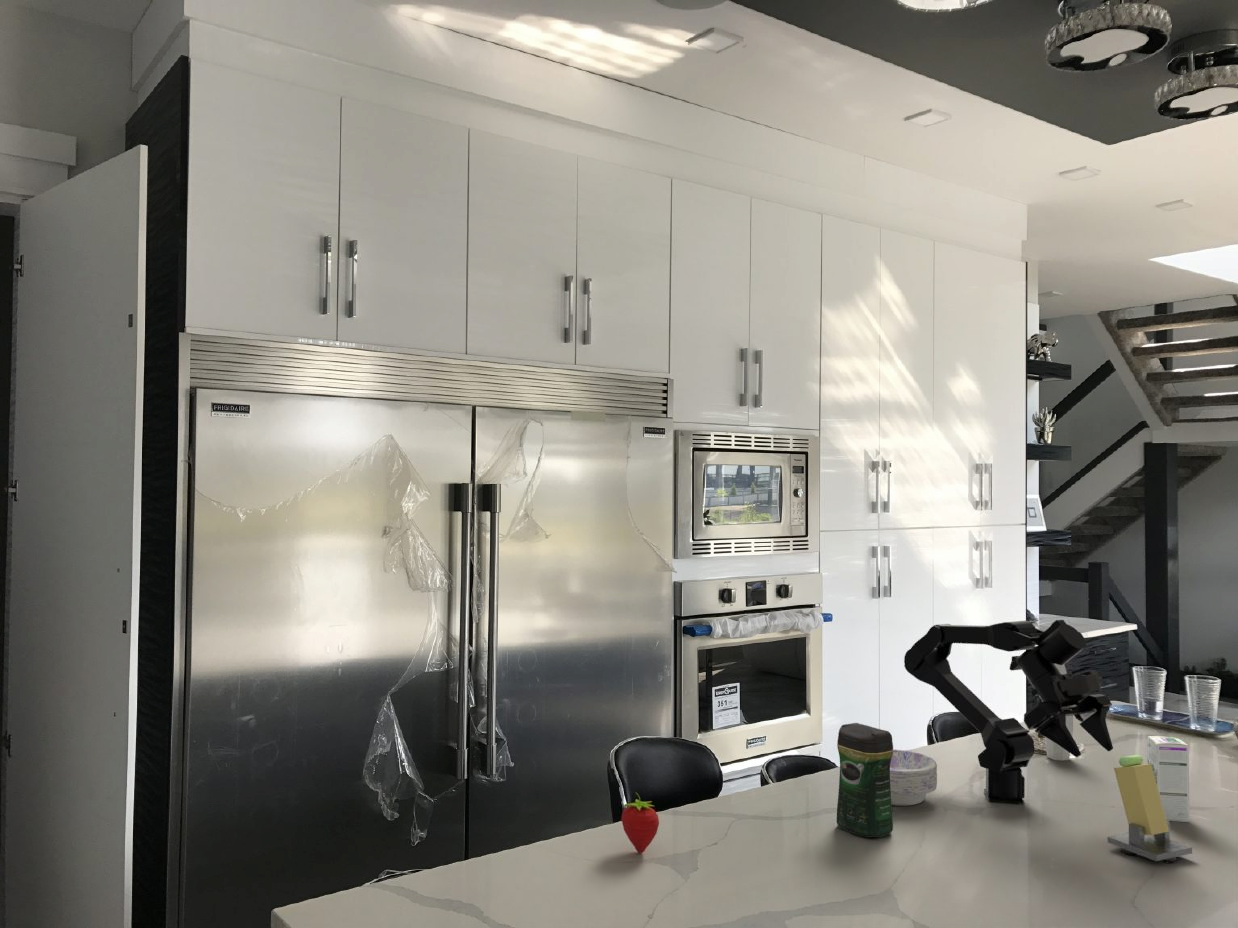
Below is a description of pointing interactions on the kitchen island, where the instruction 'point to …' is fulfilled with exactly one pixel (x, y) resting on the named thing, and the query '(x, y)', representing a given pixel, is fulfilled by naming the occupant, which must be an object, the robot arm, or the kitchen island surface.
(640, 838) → the strawberry
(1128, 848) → the base
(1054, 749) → the faceted bottle
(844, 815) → the coffee jar
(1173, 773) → the syrup box
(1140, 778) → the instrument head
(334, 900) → the kitchen island surface
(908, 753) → the paper bowls
